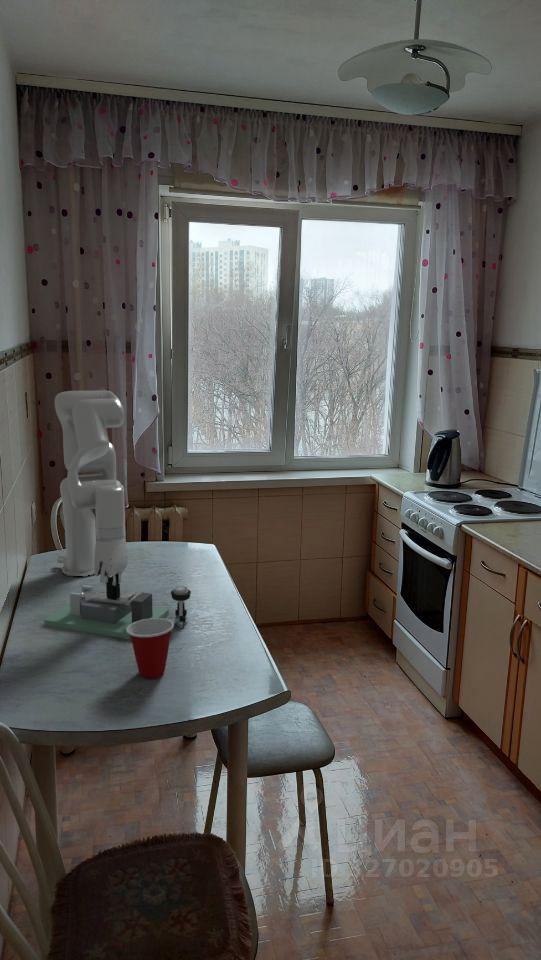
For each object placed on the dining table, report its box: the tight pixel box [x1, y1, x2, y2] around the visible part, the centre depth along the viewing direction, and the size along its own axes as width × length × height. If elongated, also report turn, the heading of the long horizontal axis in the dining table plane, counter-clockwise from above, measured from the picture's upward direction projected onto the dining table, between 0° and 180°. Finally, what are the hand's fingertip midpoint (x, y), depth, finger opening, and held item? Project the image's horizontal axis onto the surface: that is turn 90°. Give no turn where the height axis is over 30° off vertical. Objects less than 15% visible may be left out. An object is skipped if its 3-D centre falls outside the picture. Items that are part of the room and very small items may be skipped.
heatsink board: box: [43, 584, 170, 641], centre depth 191 cm, size 28×18×8 cm, turn 72°
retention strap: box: [80, 590, 138, 605], centre depth 191 cm, size 17×4×2 cm, turn 72°
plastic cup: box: [126, 618, 175, 680], centre depth 162 cm, size 11×11×12 cm
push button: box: [170, 585, 192, 629], centre depth 189 cm, size 7×5×10 cm
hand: (113, 597), depth 190 cm, fingers closed
